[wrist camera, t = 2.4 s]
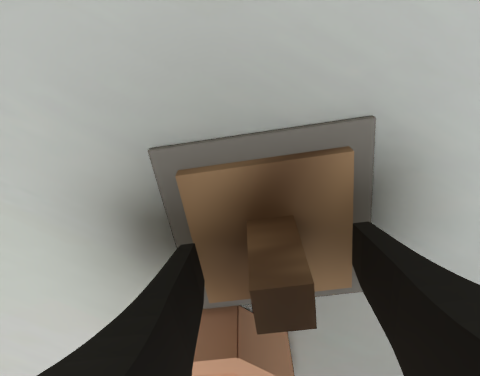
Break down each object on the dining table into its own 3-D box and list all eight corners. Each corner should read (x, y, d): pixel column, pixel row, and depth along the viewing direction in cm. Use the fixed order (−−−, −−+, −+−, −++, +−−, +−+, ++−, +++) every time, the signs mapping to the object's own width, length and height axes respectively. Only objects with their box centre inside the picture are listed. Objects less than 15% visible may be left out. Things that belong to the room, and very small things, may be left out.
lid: (348, 146, 12) (405, 202, 8) (348, 278, 15) (388, 368, 11) (177, 170, 13) (148, 234, 8) (210, 294, 16) (199, 385, 12)
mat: (372, 115, 12) (375, 117, 12) (365, 286, 16) (367, 291, 16) (149, 148, 12) (147, 151, 12) (196, 305, 16) (195, 310, 16)
